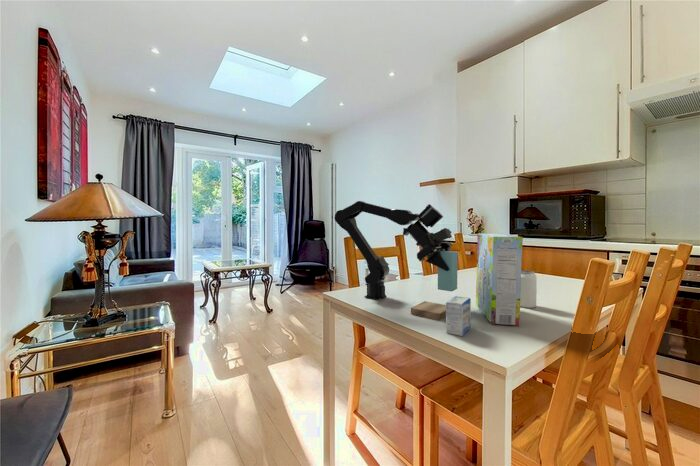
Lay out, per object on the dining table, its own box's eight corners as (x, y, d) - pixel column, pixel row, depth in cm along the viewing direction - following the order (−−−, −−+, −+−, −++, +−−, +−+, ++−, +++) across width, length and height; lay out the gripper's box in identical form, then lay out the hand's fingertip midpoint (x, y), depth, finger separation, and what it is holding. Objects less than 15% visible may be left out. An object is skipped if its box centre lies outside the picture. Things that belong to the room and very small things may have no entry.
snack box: (523, 327, 84) (524, 236, 83) (490, 325, 86) (491, 236, 85) (500, 305, 106) (501, 232, 104) (474, 304, 107) (475, 232, 106)
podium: (410, 313, 97) (410, 307, 97) (424, 306, 105) (424, 301, 105) (440, 320, 91) (440, 313, 91) (452, 312, 98) (452, 306, 98)
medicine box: (462, 336, 78) (462, 304, 78) (445, 333, 81) (445, 301, 80) (470, 328, 84) (471, 297, 84) (455, 324, 87) (455, 295, 87)
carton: (437, 289, 104) (437, 252, 103) (443, 286, 108) (443, 250, 107) (451, 291, 101) (452, 253, 100) (457, 288, 104) (457, 251, 104)
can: (540, 308, 101) (541, 273, 101) (521, 308, 102) (521, 273, 101) (529, 303, 108) (529, 270, 107) (511, 303, 108) (511, 270, 107)
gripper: (425, 221, 98) (458, 256, 92) (447, 220, 113) (477, 251, 106) (404, 243, 104) (434, 279, 97) (427, 240, 118) (455, 271, 111)
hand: (451, 269), depth 103 cm, fingers closed on carton, 5 cm apart
